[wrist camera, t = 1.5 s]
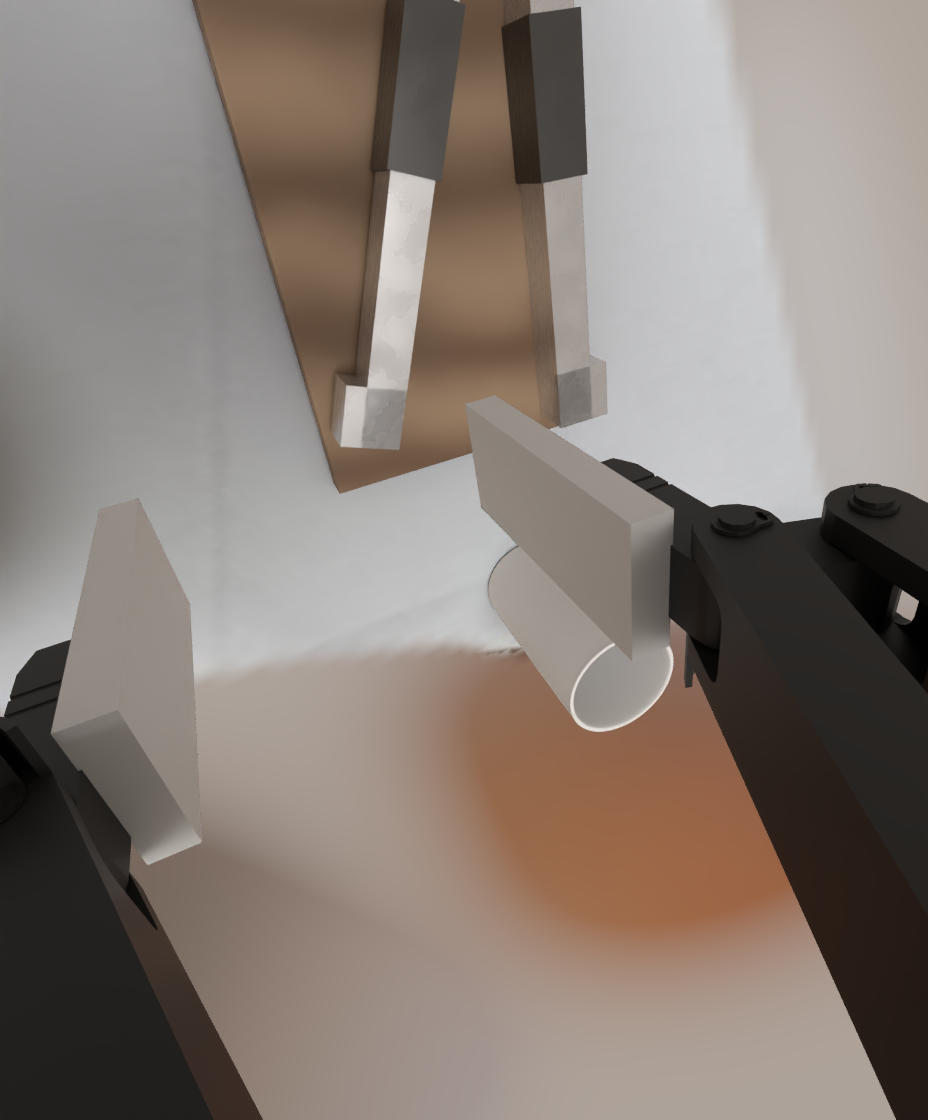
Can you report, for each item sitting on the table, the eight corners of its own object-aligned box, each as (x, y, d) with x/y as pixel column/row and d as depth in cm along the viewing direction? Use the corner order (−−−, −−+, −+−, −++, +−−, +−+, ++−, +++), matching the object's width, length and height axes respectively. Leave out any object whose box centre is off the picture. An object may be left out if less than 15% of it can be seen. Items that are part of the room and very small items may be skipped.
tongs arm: (392, -299, 22) (418, -356, 20) (533, -223, 25) (571, -266, 22) (330, 431, 33) (342, 449, 31) (430, 437, 36) (449, 454, 33)
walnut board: (116, -259, 22) (113, -286, 20) (540, -269, 25) (559, -292, 24) (334, 483, 37) (339, 493, 36) (578, 409, 41) (591, 415, 39)
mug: (546, 624, 48) (640, 733, 39) (469, 615, 45) (551, 730, 36) (602, 504, 45) (721, 590, 35) (524, 484, 42) (631, 573, 32)
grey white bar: (415, -247, 23) (440, -292, 21) (551, -251, 25) (588, -294, 22) (500, 427, 37) (521, 442, 35) (584, 401, 39) (609, 414, 37)
